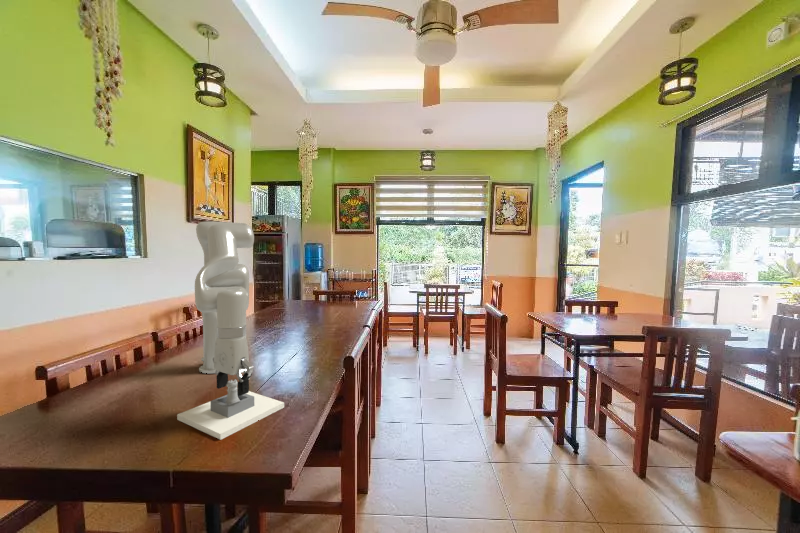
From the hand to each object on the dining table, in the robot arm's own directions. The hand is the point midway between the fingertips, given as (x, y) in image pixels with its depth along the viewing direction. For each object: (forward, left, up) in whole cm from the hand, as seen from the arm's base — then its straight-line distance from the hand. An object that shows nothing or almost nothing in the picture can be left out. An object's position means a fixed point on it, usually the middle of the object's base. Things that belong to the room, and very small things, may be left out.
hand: (232, 390), depth 95 cm
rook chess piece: (0, 0, -5) cm, 5 cm away
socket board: (0, 0, -7) cm, 7 cm away
